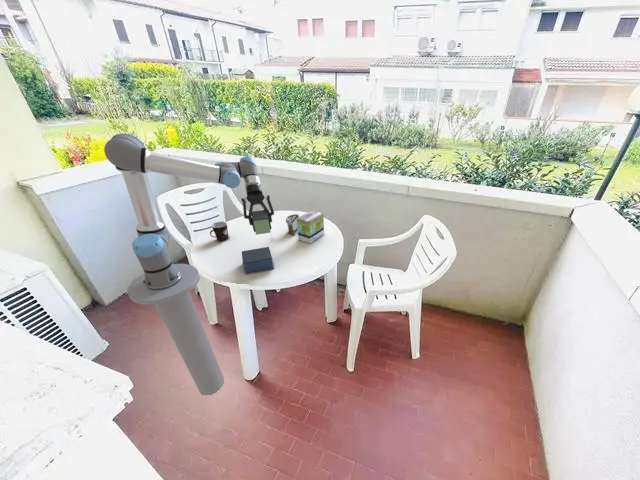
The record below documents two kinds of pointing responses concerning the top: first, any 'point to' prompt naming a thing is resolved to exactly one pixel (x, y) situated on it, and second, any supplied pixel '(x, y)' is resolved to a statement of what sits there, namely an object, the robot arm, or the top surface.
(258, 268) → the blue tub
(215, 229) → the coffee mug
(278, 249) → the top surface
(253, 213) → the green box
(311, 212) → the tea box
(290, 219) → the food container
